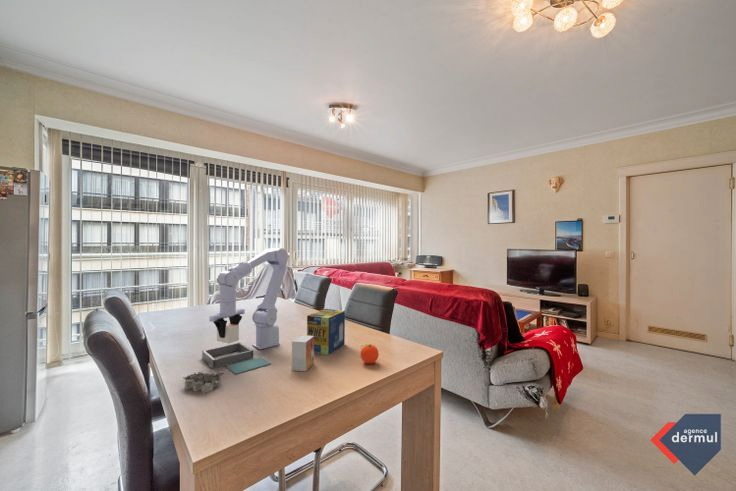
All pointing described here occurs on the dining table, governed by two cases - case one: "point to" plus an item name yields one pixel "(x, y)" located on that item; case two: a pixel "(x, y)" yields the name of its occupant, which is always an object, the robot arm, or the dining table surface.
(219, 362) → the bin
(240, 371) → the mat
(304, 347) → the small box
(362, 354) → the clementine
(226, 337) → the box
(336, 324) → the protein box
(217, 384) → the egg carton
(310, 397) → the dining table surface
